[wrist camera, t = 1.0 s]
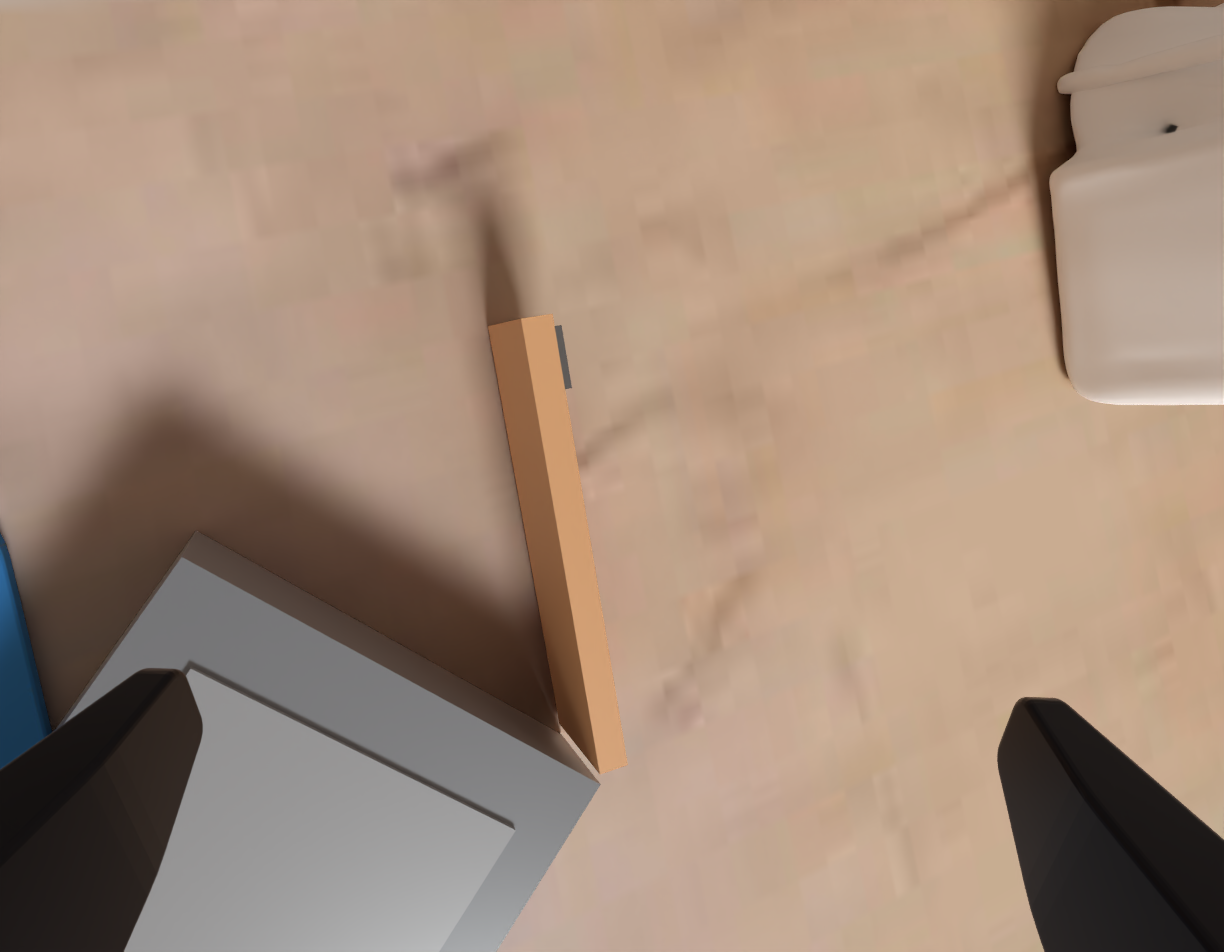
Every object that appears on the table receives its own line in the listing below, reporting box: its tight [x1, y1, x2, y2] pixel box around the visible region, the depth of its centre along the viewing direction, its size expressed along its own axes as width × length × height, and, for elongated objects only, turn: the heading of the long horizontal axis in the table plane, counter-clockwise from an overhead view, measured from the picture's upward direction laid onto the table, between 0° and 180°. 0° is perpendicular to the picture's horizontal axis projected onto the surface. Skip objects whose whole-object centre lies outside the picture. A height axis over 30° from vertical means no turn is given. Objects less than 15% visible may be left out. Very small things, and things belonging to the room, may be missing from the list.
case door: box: [488, 314, 628, 774], centre depth 24 cm, size 1×12×4 cm, turn 8°
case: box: [55, 531, 600, 952], centre depth 22 cm, size 16×12×4 cm
